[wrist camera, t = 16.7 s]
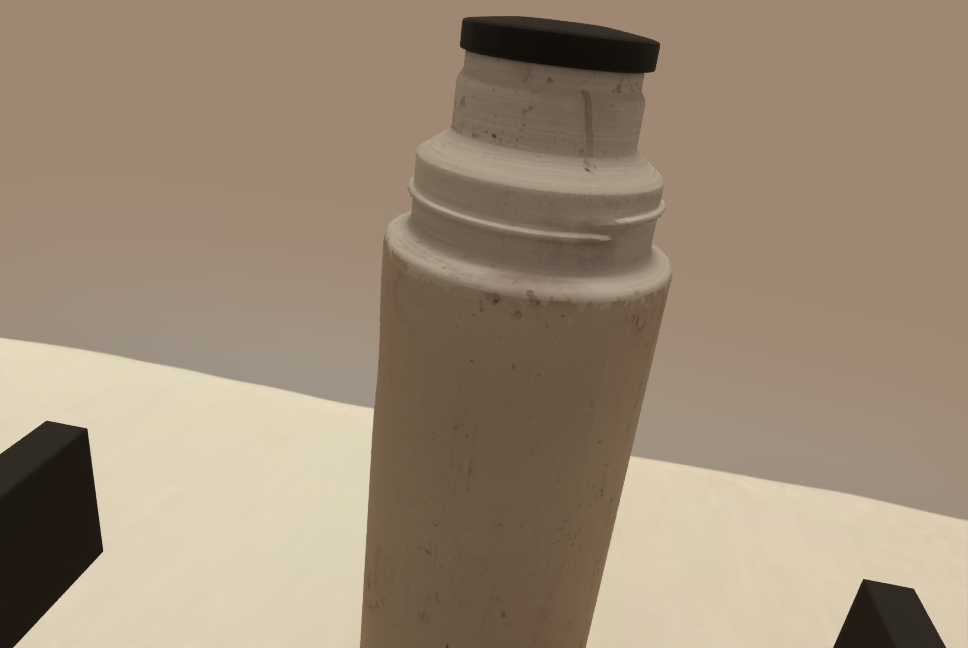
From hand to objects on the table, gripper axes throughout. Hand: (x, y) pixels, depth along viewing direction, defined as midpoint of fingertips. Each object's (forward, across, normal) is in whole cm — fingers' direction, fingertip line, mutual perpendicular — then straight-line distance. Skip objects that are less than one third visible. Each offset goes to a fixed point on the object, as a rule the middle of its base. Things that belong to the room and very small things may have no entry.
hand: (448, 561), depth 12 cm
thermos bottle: (+10, 0, -20) cm, 22 cm away
